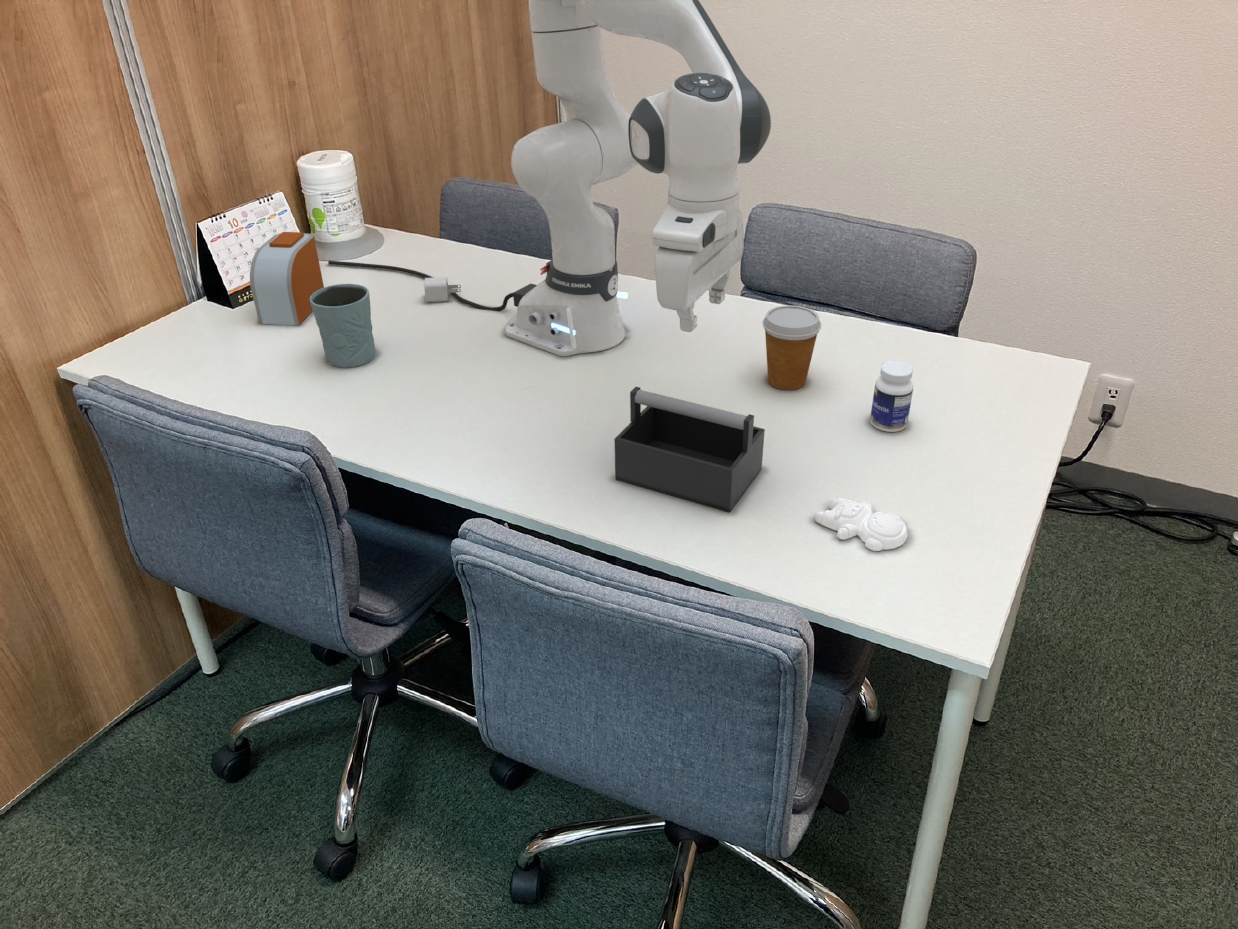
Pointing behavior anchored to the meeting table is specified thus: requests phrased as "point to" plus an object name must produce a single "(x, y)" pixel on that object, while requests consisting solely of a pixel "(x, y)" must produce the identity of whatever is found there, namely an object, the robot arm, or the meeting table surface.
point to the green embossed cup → (344, 324)
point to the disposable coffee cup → (790, 344)
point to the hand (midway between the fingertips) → (703, 315)
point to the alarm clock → (285, 278)
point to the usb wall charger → (438, 289)
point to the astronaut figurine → (863, 524)
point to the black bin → (688, 450)
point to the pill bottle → (892, 397)
